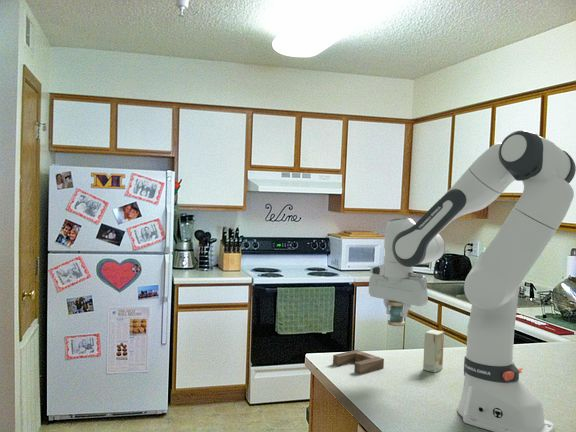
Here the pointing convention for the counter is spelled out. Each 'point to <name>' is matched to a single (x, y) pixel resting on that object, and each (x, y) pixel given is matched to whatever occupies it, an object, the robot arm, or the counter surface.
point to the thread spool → (396, 314)
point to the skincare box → (433, 350)
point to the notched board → (359, 361)
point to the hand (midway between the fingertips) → (396, 315)
